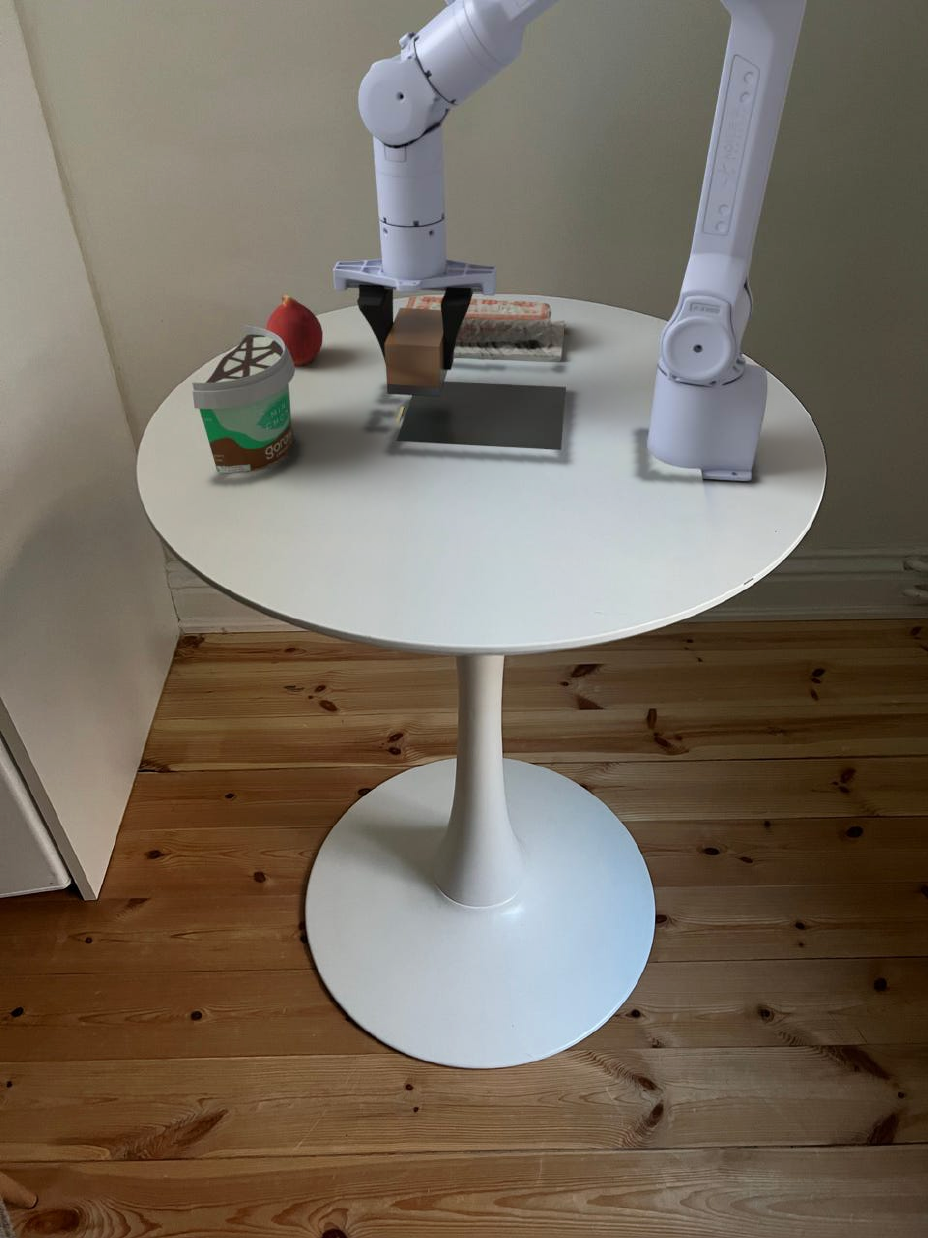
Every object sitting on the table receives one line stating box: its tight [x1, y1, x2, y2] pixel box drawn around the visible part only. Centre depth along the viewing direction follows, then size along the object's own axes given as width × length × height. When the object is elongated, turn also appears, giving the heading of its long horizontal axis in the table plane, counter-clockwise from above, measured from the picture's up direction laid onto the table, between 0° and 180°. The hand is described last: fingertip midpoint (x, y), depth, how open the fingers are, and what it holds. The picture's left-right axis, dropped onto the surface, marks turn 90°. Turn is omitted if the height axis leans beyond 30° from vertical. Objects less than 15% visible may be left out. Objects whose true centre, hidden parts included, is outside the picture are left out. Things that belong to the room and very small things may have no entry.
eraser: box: [384, 307, 449, 397], centre depth 87 cm, size 5×8×5 cm, turn 173°
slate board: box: [395, 380, 567, 451], centre depth 89 cm, size 16×13×1 cm
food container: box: [192, 325, 296, 474], centre depth 82 cm, size 12×6×10 cm, turn 168°
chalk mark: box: [395, 405, 406, 423], centre depth 89 cm, size 3×3×1 cm
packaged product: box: [403, 295, 565, 363], centre depth 100 cm, size 18×5×10 cm
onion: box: [265, 294, 324, 367], centre depth 96 cm, size 6×6×8 cm
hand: (419, 364), depth 88 cm, fingers closed on eraser, 5 cm apart
